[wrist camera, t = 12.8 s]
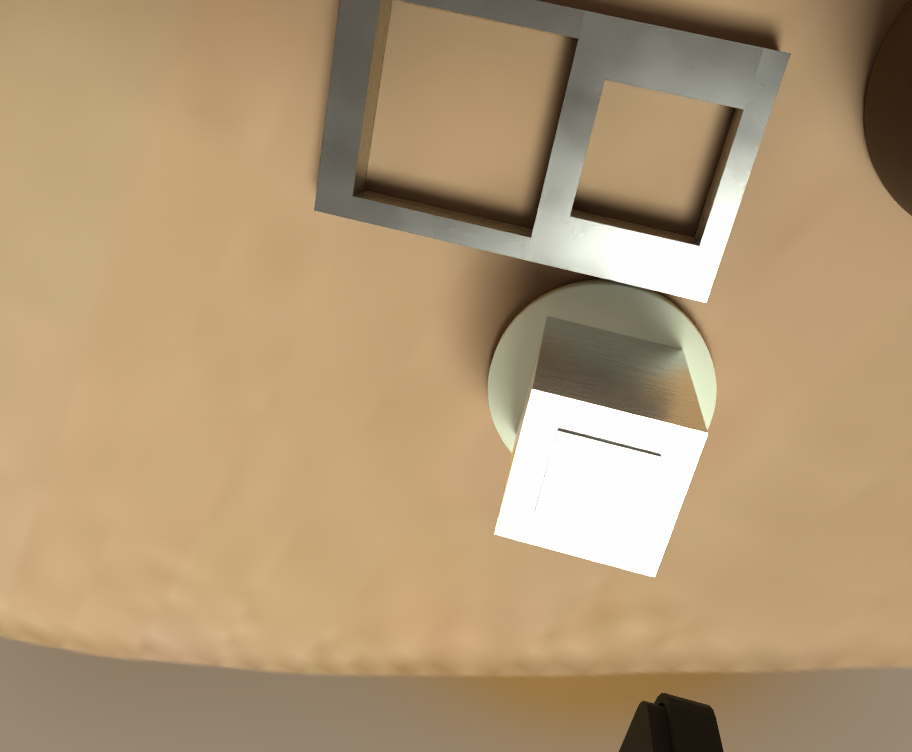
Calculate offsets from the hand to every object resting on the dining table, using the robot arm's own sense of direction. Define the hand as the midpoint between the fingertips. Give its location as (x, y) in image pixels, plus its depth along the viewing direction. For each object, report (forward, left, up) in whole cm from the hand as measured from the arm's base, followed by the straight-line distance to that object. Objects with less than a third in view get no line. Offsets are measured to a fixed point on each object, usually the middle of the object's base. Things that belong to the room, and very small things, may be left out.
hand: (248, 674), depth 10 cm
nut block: (+5, -4, -21) cm, 22 cm away
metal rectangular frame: (+1, +5, -21) cm, 22 cm away
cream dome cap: (+5, -4, -21) cm, 22 cm away
